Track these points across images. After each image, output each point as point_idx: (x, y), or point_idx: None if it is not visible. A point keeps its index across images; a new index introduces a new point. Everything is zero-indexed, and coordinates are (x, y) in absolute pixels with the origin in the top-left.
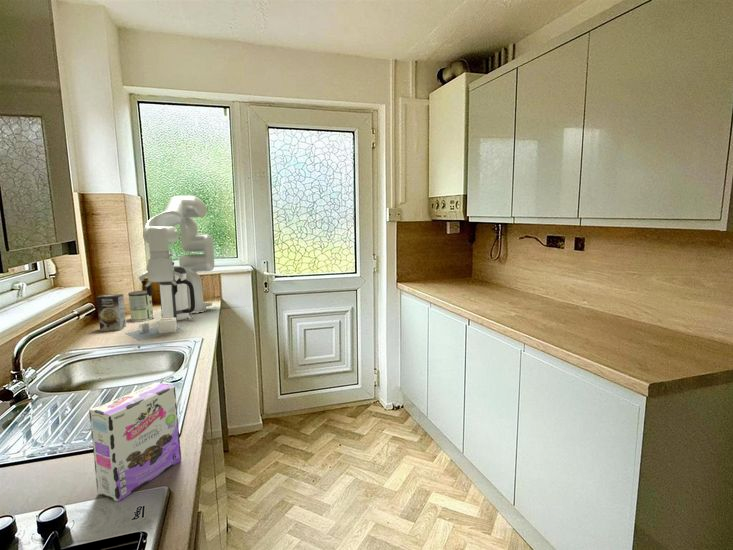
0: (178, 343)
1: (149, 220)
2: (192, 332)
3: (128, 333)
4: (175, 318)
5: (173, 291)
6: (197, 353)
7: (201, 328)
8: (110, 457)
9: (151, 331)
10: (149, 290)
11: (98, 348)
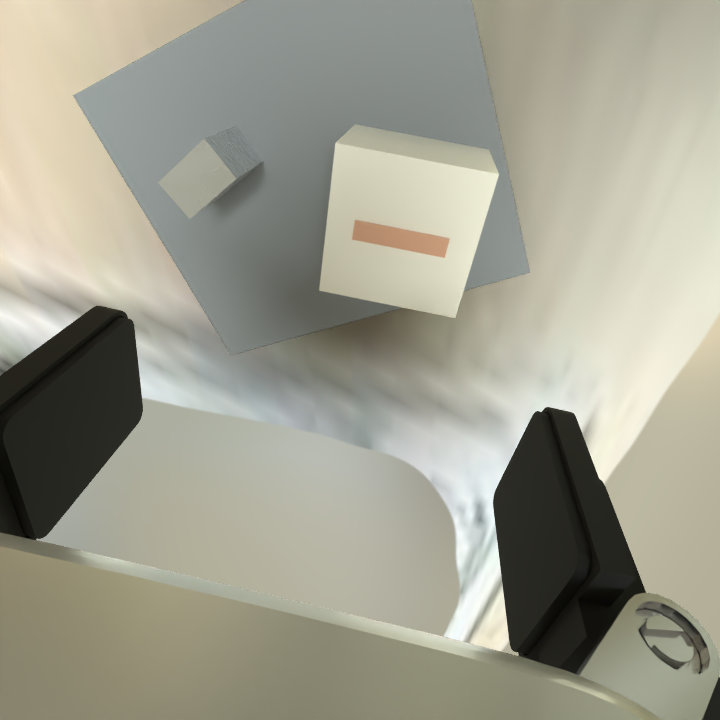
0: (442, 444)
1: None
2: (583, 254)
3: (104, 116)
4: (481, 231)
5: (502, 542)
6: (488, 589)
7: (705, 152)
8: None
9: (277, 153)
10: (74, 488)
11: (45, 310)
